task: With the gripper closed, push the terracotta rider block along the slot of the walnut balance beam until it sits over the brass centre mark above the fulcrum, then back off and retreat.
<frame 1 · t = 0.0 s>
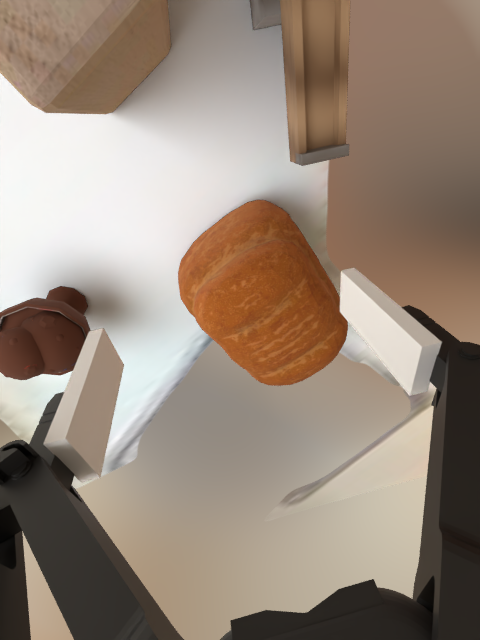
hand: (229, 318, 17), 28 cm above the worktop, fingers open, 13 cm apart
ice cream bowl: (67, 302, 44), on the worktop
bread: (253, 276, 47), on the worktop
wooden block: (101, 32, 29), on the worktop
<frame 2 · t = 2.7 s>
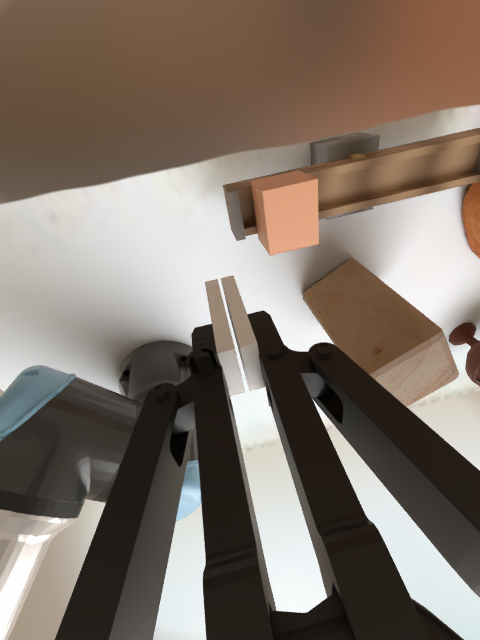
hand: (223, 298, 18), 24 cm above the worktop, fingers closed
ice cream bowl: (460, 333, 61), on the worktop
beam: (333, 173, 39), on the worktop
rider: (282, 210, 30), point 10 cm above the worktop, slide at -10.0 cm
wooden block: (336, 293, 50), on the worktop
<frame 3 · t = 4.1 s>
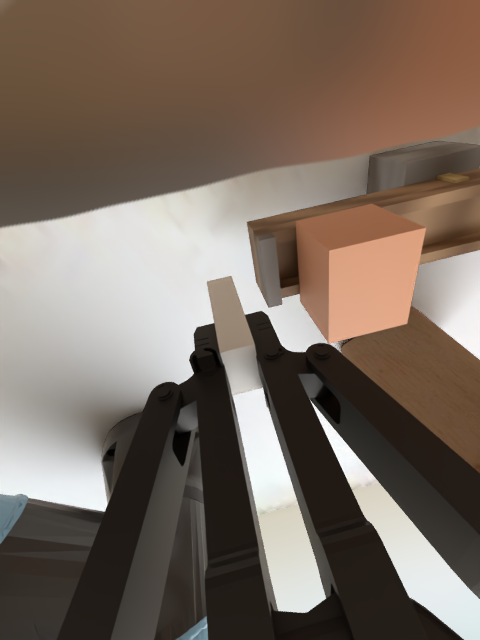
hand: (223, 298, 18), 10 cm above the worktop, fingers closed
beam: (396, 197, 28), on the worktop
rider: (346, 268, 19), point 10 cm above the worktop, slide at -10.0 cm
wooden block: (383, 345, 39), on the worktop
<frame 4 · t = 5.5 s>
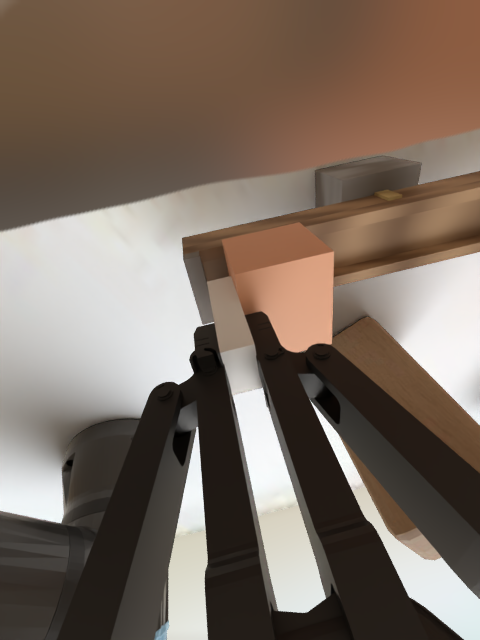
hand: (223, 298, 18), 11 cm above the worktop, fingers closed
beam: (346, 210, 28), on the worktop
rider: (273, 286, 19), point 10 cm above the worktop, slide at -9.9 cm, touching gripper
wooden block: (346, 355, 39), on the worktop
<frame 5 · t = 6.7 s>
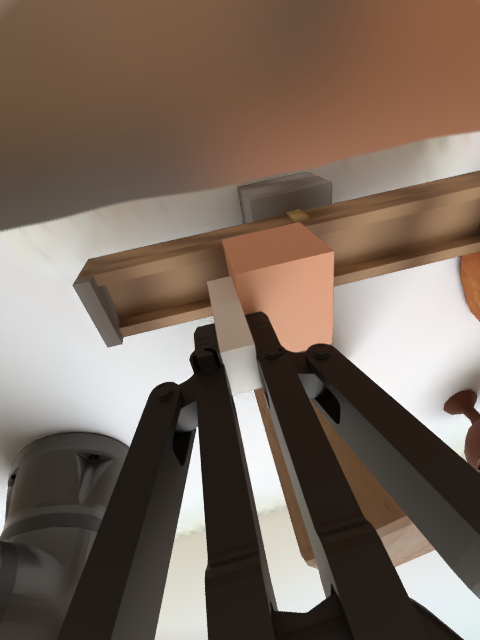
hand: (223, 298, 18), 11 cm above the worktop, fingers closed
ice cream bowl: (458, 400, 50), on the worktop
beam: (276, 226, 27), on the worktop
rider: (273, 286, 19), point 10 cm above the worktop, slide at -3.2 cm, touching gripper
wooden block: (297, 368, 39), on the worktop
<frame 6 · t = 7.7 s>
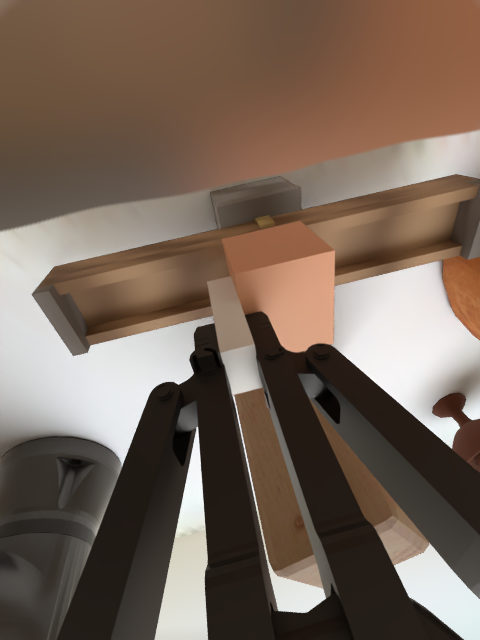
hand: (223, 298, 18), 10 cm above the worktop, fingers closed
ice cream bowl: (447, 403, 49), on the worktop
beam: (252, 230, 27), on the worktop
rider: (274, 286, 19), point 10 cm above the worktop, slide at -0.8 cm, touching gripper
wooden block: (280, 372, 38), on the worktop
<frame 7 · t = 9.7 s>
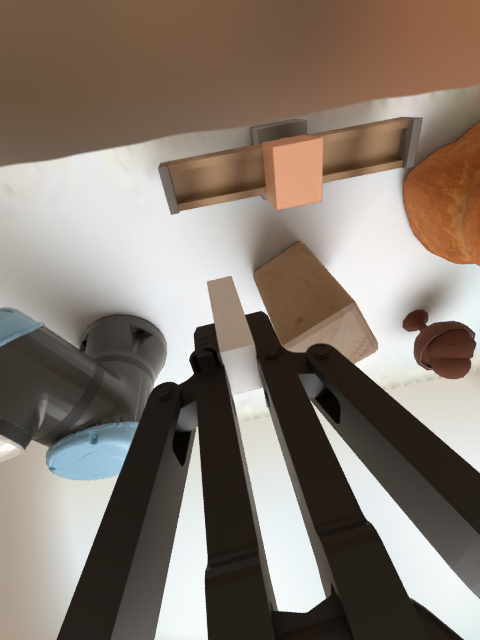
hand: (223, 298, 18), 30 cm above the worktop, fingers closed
ice cream bowl: (414, 320, 64), on the worktop
beam: (274, 157, 42), on the worktop
rider: (290, 170, 33), point 10 cm above the worktop, slide at -0.8 cm
bread: (466, 176, 48), on the worktop
wooden block: (287, 275, 53), on the worktop
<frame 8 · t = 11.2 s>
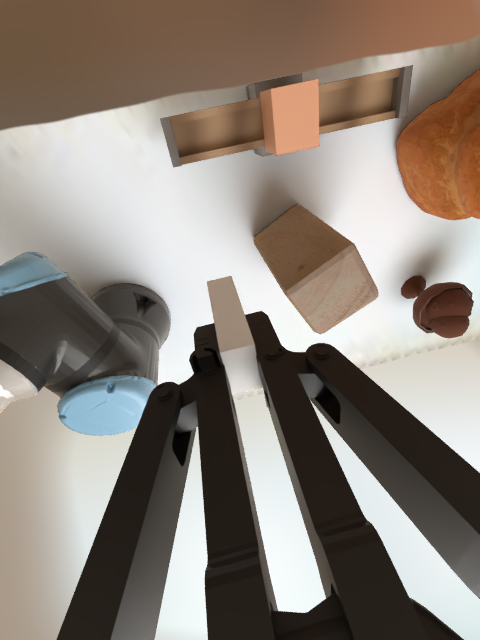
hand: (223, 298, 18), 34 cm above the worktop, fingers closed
ice cream bowl: (412, 286, 65), on the worktop
beam: (271, 117, 43), on the worktop
rider: (287, 118, 34), point 10 cm above the worktop, slide at -0.8 cm
bread: (457, 135, 49), on the worktop
wooden block: (287, 240, 54), on the worktop
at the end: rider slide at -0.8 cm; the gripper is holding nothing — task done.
